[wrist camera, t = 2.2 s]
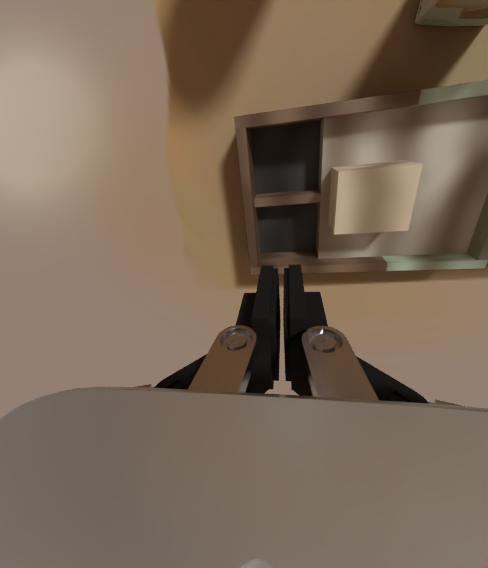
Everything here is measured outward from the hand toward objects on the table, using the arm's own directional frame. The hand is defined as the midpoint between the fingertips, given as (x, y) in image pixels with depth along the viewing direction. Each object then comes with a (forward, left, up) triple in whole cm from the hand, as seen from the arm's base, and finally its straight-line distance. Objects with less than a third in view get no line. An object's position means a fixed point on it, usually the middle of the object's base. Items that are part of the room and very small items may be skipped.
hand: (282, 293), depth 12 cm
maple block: (-6, -6, -20) cm, 22 cm away
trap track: (-6, -6, -23) cm, 25 cm away
